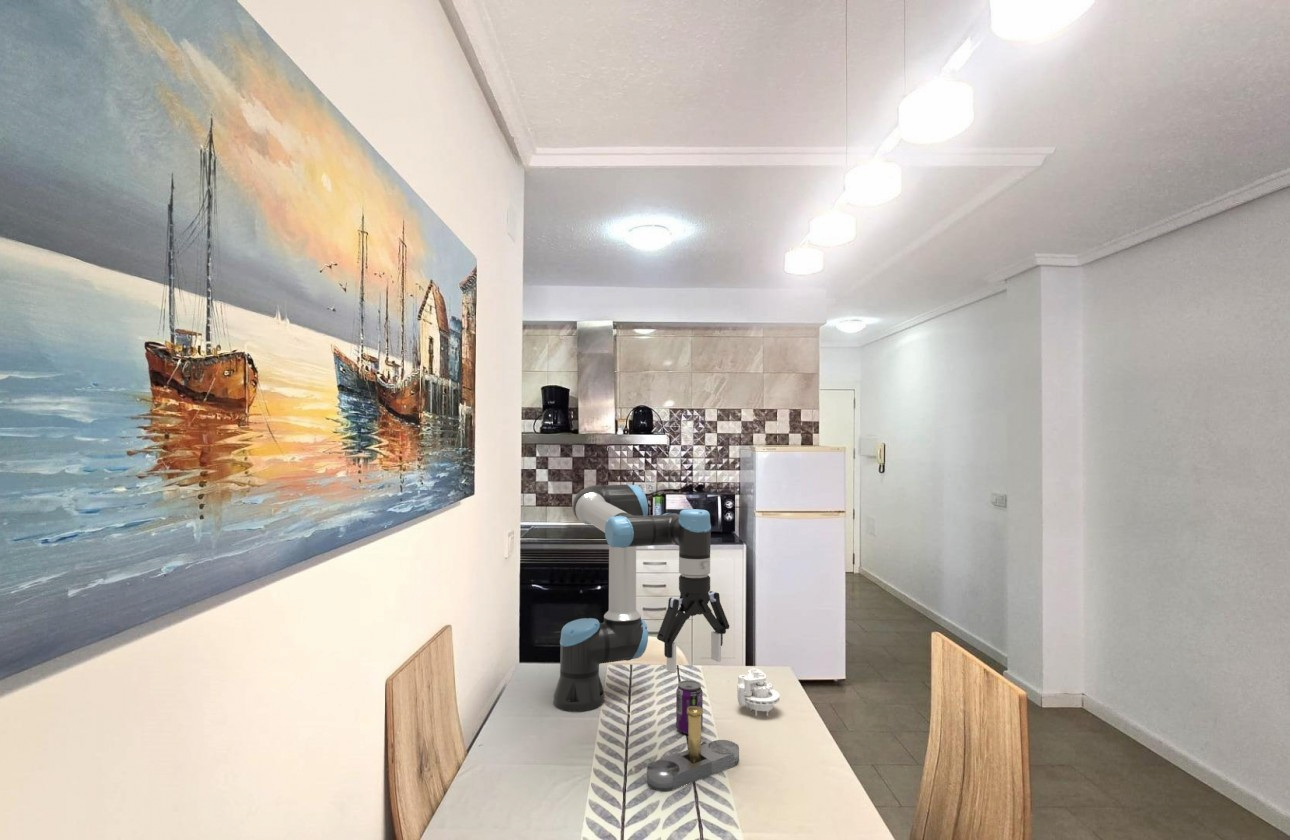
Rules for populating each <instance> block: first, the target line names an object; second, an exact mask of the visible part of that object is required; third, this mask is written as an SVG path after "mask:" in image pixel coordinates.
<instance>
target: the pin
mask: <svg viewBox="0 0 1290 840" xmlns="http://www.w3.org/2000/svg"><path fill="white" fill-rule="evenodd" d="M687 714H688V734H687V739H688V741H687V742H688V743H687V744H688V745H687V747H688V749H687V750H688V761H690V762H691V763H693V764H694V763H697V762H699V761H701V744H702V730H701V715H702V714H704V708H703V709H702V708H701V707H698V706H690V707H688V708H687Z"/></svg>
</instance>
